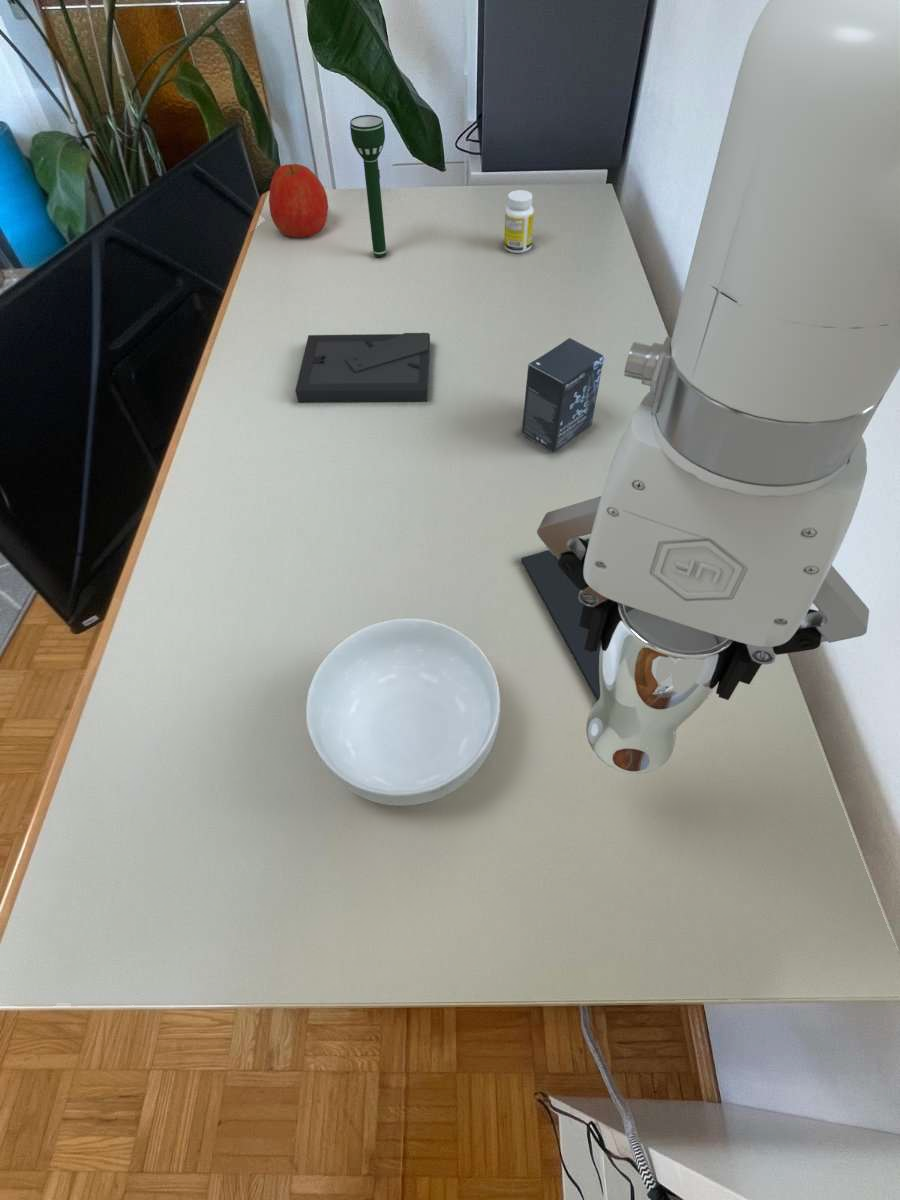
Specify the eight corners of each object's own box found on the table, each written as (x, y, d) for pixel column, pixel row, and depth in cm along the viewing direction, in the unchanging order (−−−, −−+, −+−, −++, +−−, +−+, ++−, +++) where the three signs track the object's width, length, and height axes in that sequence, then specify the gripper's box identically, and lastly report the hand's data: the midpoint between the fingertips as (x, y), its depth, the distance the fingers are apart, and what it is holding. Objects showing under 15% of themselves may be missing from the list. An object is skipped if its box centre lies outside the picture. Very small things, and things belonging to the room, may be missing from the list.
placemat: (714, 675, 68) (716, 672, 67) (603, 712, 66) (604, 709, 65) (618, 533, 79) (619, 529, 79) (521, 561, 77) (521, 557, 77)
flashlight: (401, 254, 120) (390, 119, 104) (380, 265, 117) (366, 130, 101) (379, 245, 122) (366, 112, 106) (359, 256, 119) (342, 122, 103)
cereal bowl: (322, 664, 69) (309, 623, 64) (487, 652, 70) (489, 610, 64) (314, 833, 59) (298, 802, 54) (508, 817, 60) (513, 785, 54)
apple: (332, 215, 129) (323, 151, 121) (329, 241, 123) (319, 177, 115) (277, 217, 129) (264, 154, 121) (271, 244, 123) (257, 179, 114)
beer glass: (559, 738, 49) (587, 609, 37) (615, 673, 52) (658, 535, 40) (645, 801, 46) (706, 685, 34) (699, 729, 49) (773, 598, 37)
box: (554, 455, 88) (563, 383, 79) (520, 434, 90) (526, 362, 82) (593, 426, 91) (606, 354, 82) (559, 407, 93) (569, 335, 85)
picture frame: (430, 345, 103) (310, 346, 103) (429, 331, 101) (307, 332, 101) (427, 401, 95) (297, 402, 95) (426, 387, 93) (294, 388, 93)
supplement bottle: (523, 238, 122) (526, 186, 115) (536, 250, 119) (540, 197, 113) (499, 244, 121) (500, 192, 114) (511, 256, 118) (513, 203, 112)
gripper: (510, 402, 27) (497, 654, 41) (1020, 534, 22) (807, 767, 36) (573, 305, 31) (542, 564, 45) (1015, 399, 26) (825, 656, 40)
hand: (660, 653), depth 41 cm, fingers closed on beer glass, 7 cm apart
